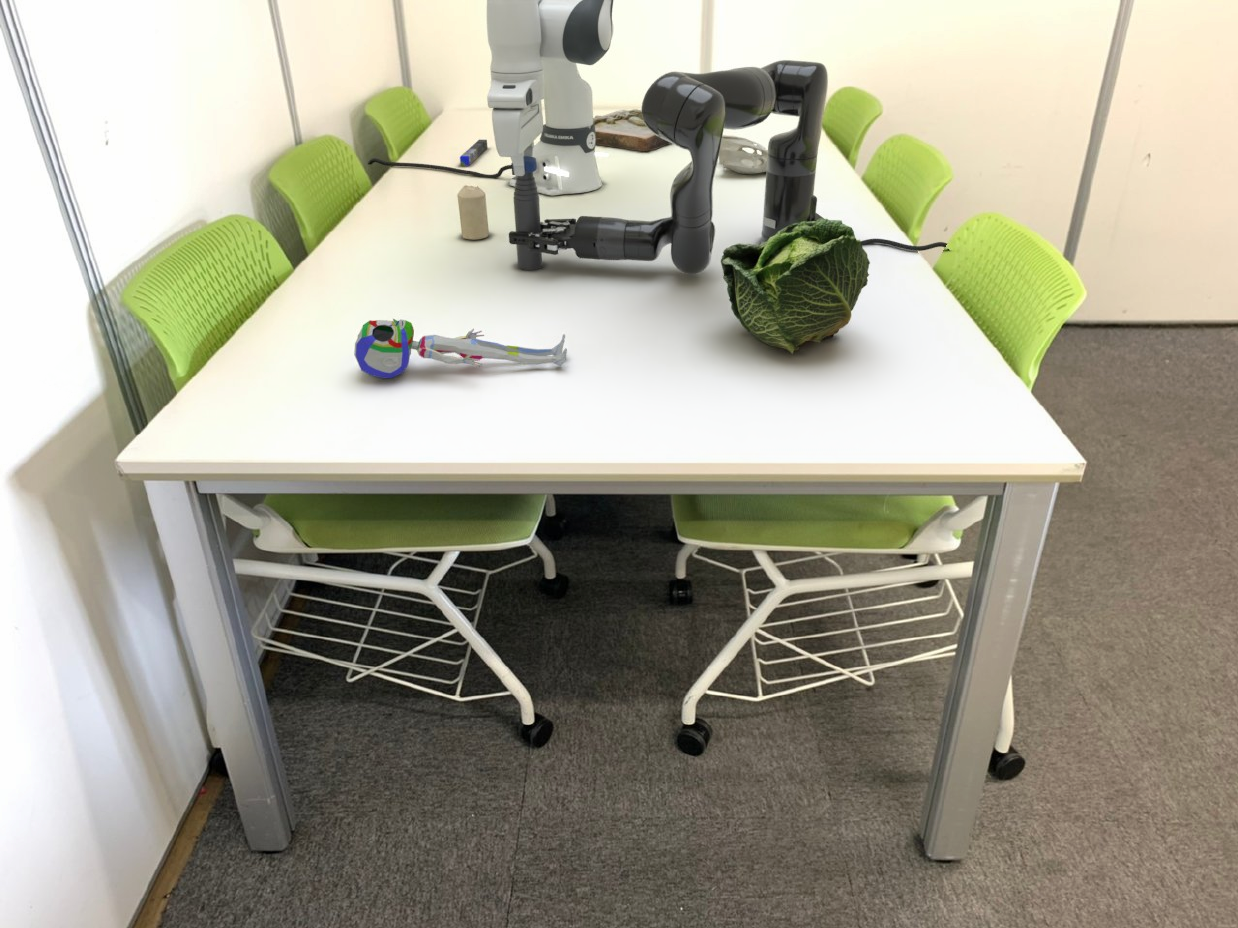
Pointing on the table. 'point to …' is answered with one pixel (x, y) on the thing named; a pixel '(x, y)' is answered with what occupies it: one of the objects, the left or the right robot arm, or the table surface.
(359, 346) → the toy
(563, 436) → the table surface
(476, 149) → the pillar
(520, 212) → the bottle
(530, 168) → the cap
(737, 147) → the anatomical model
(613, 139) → the plaque
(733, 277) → the vegetable
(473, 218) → the candle
